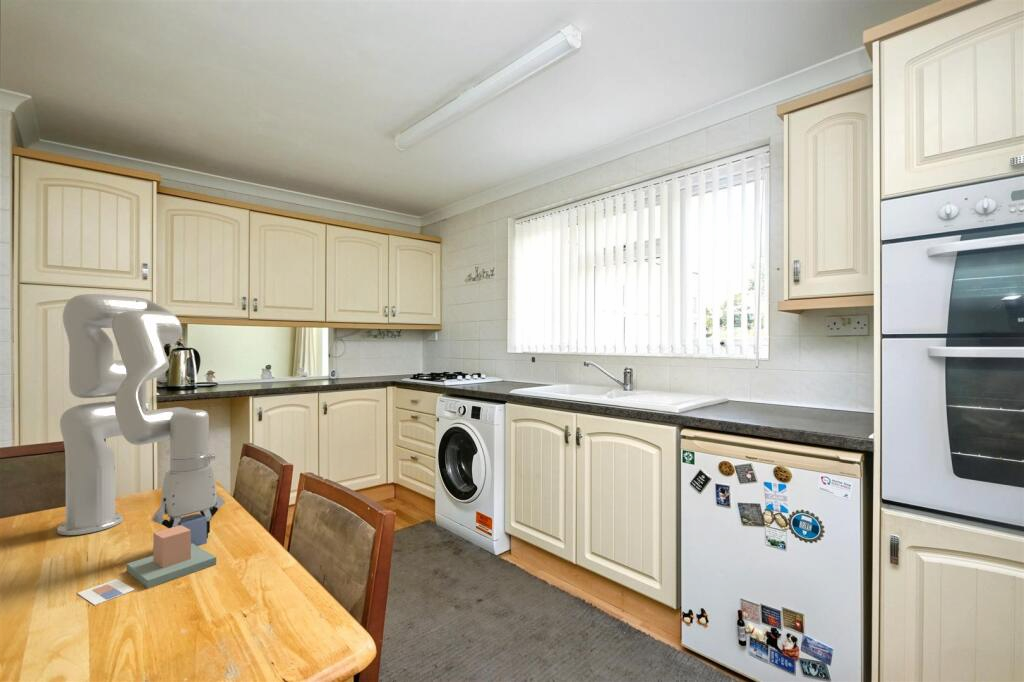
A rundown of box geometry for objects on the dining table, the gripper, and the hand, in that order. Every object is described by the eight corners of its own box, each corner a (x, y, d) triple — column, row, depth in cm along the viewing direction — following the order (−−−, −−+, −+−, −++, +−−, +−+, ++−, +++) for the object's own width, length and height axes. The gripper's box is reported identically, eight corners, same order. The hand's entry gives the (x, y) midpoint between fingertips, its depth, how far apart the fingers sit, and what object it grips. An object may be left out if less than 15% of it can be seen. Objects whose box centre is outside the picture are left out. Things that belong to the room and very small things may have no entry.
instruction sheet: (77, 593, 89) (77, 592, 89) (116, 579, 94) (116, 578, 94) (94, 605, 85) (94, 604, 85) (134, 590, 90) (134, 589, 90)
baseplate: (126, 570, 97) (126, 563, 97) (192, 549, 107) (192, 543, 107) (147, 588, 90) (147, 580, 90) (216, 564, 100) (216, 557, 100)
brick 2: (173, 545, 110) (173, 519, 110) (197, 538, 114) (197, 513, 114) (182, 550, 107) (182, 524, 107) (206, 543, 111) (206, 517, 111)
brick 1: (153, 561, 98) (153, 532, 98) (181, 552, 102) (181, 525, 102) (162, 568, 95) (162, 538, 95) (190, 558, 99) (190, 530, 99)
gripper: (222, 454, 119) (222, 526, 119) (139, 469, 106) (139, 550, 105) (236, 458, 115) (236, 533, 115) (152, 474, 101) (152, 559, 101)
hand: (190, 540), depth 110 cm, fingers closed on brick 2, 5 cm apart
